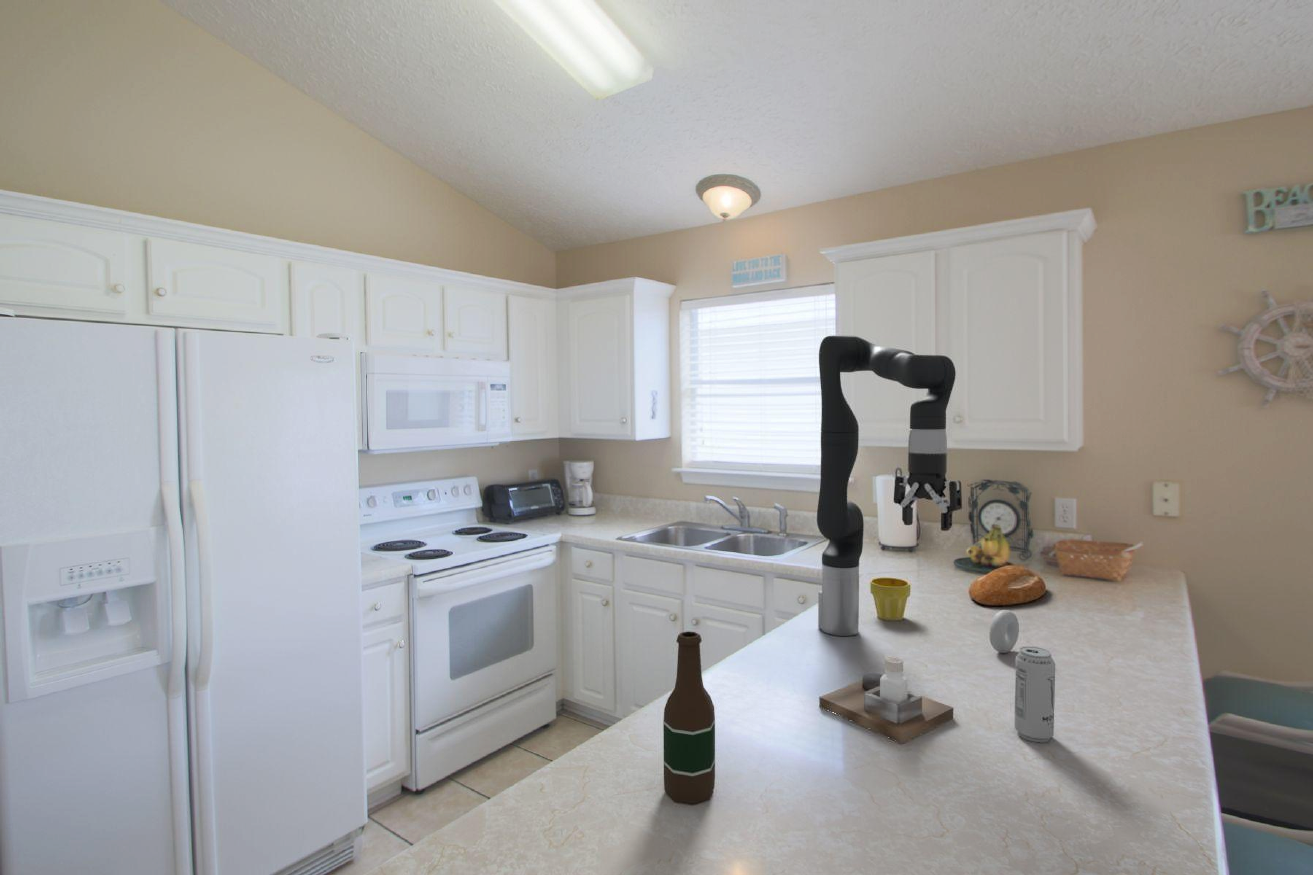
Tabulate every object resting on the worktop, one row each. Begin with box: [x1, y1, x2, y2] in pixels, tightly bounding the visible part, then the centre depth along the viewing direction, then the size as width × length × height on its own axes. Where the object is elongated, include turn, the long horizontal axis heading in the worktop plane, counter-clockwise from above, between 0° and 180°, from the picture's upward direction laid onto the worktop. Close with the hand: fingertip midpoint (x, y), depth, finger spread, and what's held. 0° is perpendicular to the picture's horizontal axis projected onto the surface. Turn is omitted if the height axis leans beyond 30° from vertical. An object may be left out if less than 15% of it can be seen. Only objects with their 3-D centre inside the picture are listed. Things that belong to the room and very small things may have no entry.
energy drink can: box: [1013, 646, 1056, 743], centre depth 119 cm, size 6×6×15 cm
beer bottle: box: [662, 631, 716, 806], centre depth 102 cm, size 8×8×24 cm
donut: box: [989, 609, 1020, 654], centre depth 159 cm, size 10×4×10 cm, turn 128°
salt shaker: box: [880, 656, 909, 704], centre depth 124 cm, size 4×4×10 cm
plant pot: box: [869, 576, 911, 621], centre depth 185 cm, size 10×10×10 cm
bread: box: [968, 565, 1047, 606], centre depth 206 cm, size 18×35×9 cm, turn 130°
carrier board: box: [818, 672, 954, 745], centre depth 128 cm, size 18×16×5 cm
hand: (926, 527), depth 143 cm, fingers open, 8 cm apart
